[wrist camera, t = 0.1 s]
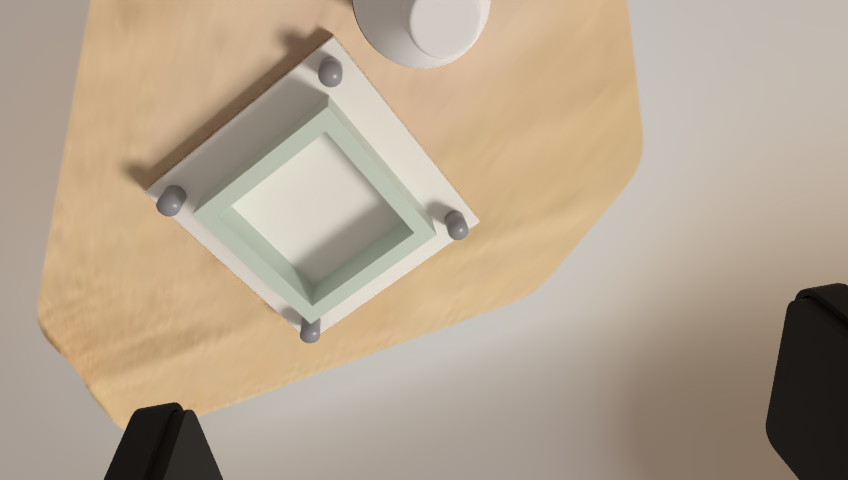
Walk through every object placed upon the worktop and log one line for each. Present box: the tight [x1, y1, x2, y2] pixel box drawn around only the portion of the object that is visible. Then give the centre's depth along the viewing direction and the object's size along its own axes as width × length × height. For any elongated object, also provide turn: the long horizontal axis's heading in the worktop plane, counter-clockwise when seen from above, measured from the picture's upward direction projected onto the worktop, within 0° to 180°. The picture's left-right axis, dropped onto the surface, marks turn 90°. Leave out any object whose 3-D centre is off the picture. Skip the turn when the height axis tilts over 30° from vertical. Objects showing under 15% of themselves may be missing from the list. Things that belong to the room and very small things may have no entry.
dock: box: [145, 35, 480, 343], centre depth 46 cm, size 18×18×4 cm
